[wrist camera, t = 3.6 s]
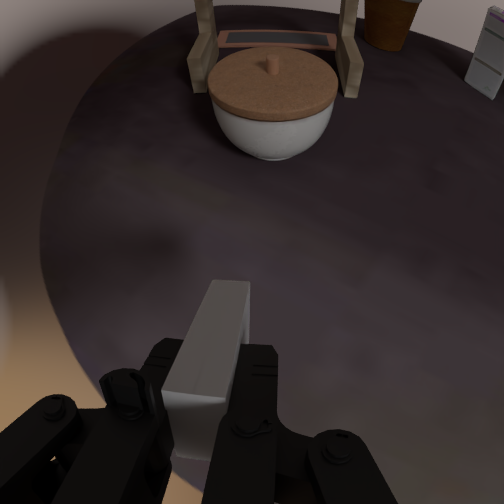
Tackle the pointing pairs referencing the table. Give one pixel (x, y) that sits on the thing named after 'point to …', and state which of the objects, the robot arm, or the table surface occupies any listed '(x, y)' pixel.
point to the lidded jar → (272, 100)
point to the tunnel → (208, 52)
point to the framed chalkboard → (277, 39)
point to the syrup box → (488, 56)
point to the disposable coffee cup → (388, 22)
